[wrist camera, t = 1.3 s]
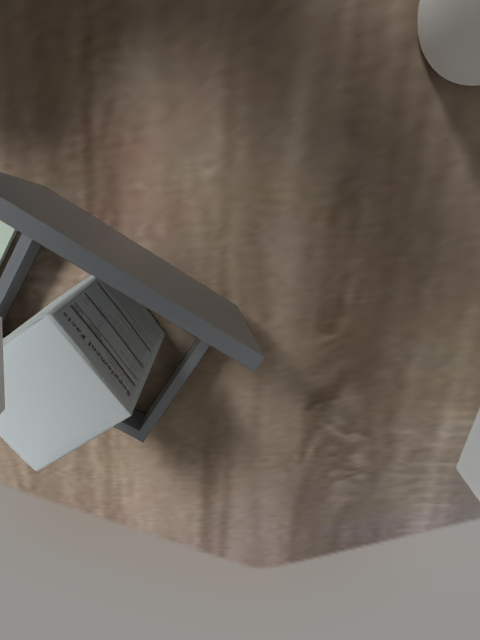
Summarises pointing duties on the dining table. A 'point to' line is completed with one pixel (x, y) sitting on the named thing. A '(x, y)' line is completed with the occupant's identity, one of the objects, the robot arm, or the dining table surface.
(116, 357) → the supplement box
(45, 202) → the lid
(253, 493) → the dining table surface
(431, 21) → the mug
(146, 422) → the grey square frame
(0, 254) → the mat
